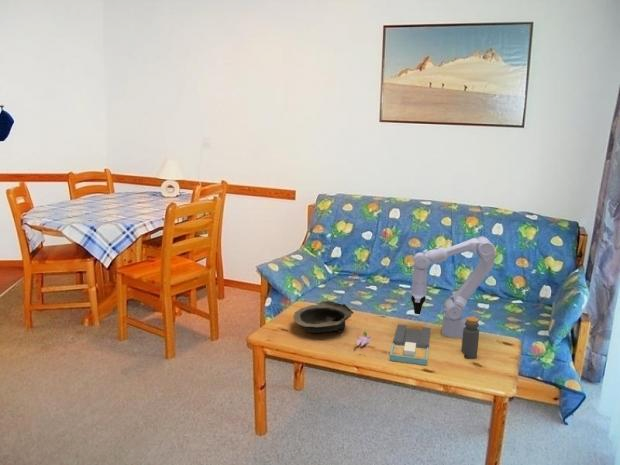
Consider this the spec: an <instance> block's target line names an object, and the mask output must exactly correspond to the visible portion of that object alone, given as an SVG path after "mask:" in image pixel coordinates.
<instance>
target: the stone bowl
mask: <svg viewBox="0 0 620 465" xmlns="http://www.w3.org/2000/svg"><path fill="white" fill-rule="evenodd" d="M353 314H354V311H353V310H352V309H351V308H349V306H347V305H346V304H345V303H343V304H342V303H338V302H334V301H329V300H327V301H326V300H322V301H320V302H318V303H316V304H311V305H308V306H304V307H302V308H299V309H298V310H296V311H294V313H293V317H292V318H293V321H294V322H295V323H296V324H298V325H300V326H302V327H303V329H304V331H305V332H306V333H313V334H315V333H326V332H327V333H329V332H333V331H337V332H339V333H341V332H344V331H345V329H346V321H347V320H348V319H349V318H351V317H352V315H353Z"/></svg>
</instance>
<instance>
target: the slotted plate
mask: <svg viewBox="0 0 620 465" xmlns="http://www.w3.org/2000/svg"><path fill="white" fill-rule="evenodd" d="M431 329H432V328H431V327H424V326H422V327H421V329H411V328H407V324H399V323H398V324H397V327H396V331H395V333H394V338H393V343H395V345H394V346H401V347H405V342H411V343H416V349H423V350H424V349H426V350H427V347H428V348H429V349H430V339H431V332H432V330H431ZM393 343H392V344H393Z"/></svg>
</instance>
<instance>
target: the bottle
mask: <svg viewBox="0 0 620 465" xmlns="http://www.w3.org/2000/svg"><path fill="white" fill-rule="evenodd" d="M465 318H466V322H465V326H466V327H465V328H464V329H463V338H461V339H462V340H461V353H462V354H463V357H464V358H466V359H471V360H474V359H476V358H477V357H478V351H479V336H480V329H479V327H480V324H479V320H480V319H479V318H478V317H476V316H467V317H465Z"/></svg>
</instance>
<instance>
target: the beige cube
mask: <svg viewBox="0 0 620 465" xmlns="http://www.w3.org/2000/svg"><path fill="white" fill-rule="evenodd" d="M416 349H417V348H416V347H409V346H404V348H403V356H408V357H416V351H415V350H416Z"/></svg>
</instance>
